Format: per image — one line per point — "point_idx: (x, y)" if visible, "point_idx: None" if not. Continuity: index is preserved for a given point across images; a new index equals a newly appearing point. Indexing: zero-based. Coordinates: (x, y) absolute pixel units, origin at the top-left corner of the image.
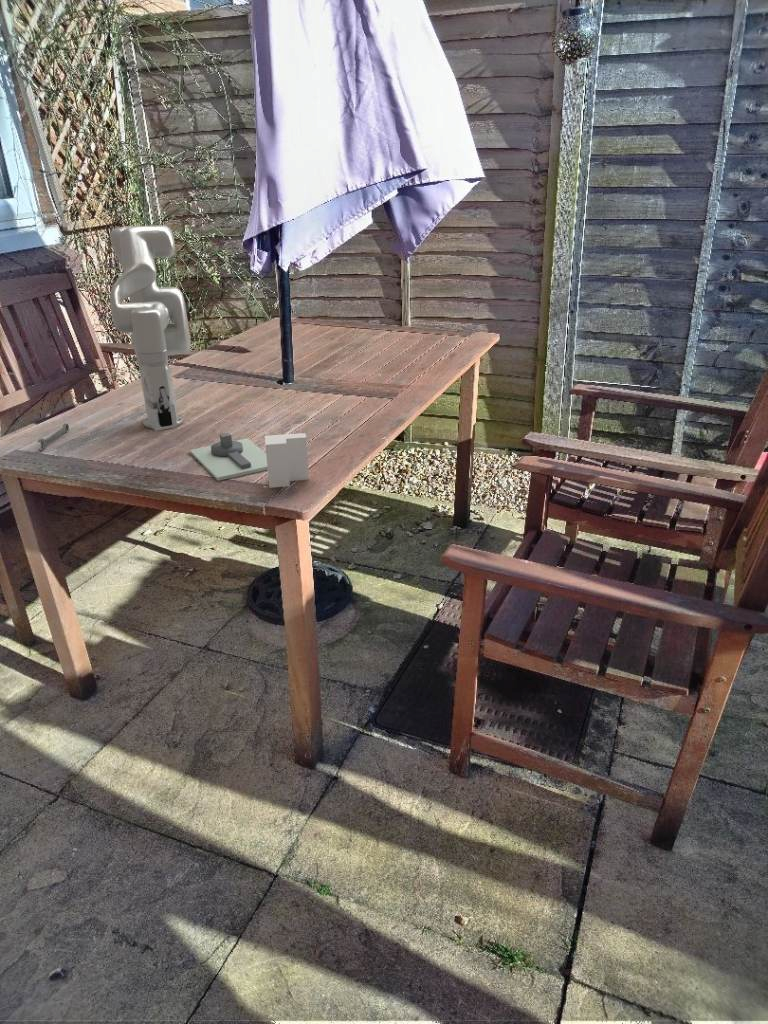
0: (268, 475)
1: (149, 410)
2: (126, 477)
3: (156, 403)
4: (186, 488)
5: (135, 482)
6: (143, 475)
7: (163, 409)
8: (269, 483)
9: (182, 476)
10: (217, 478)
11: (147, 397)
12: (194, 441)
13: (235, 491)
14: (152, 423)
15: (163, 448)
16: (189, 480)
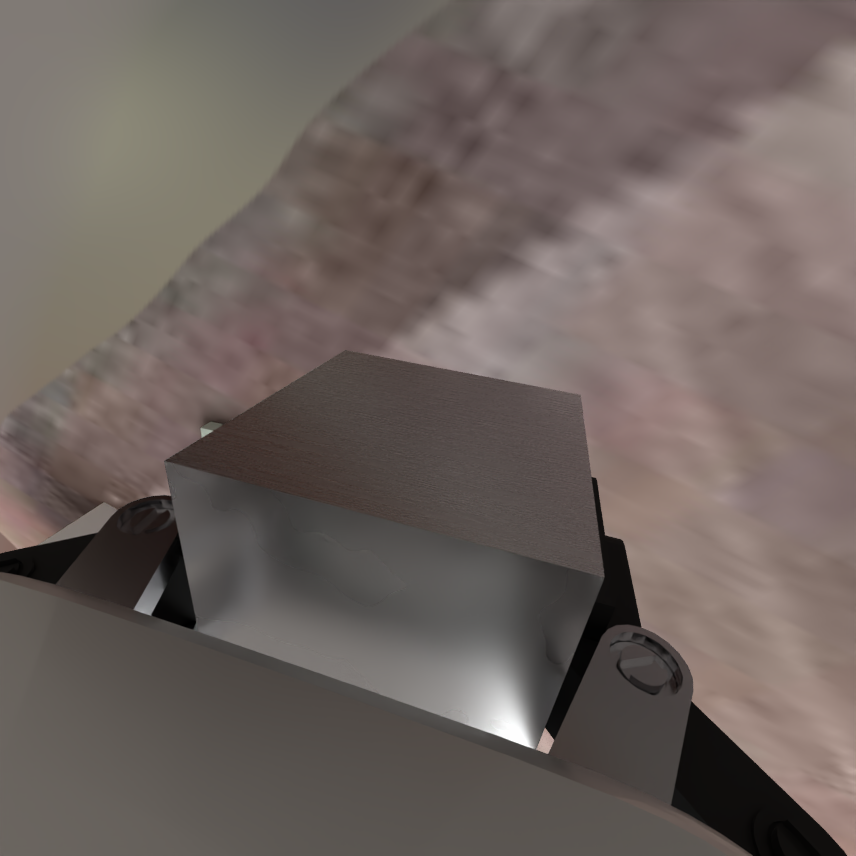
0: (62, 529)
1: (397, 468)
2: (498, 49)
3: (440, 663)
4: (190, 289)
5: (383, 79)
6: (456, 170)
7: (28, 554)
8: (90, 511)
9: (324, 339)
10: (203, 426)
11: (352, 715)
12: (712, 594)
13: (105, 417)
14: (402, 383)
15: (775, 450)
16: (266, 341)
